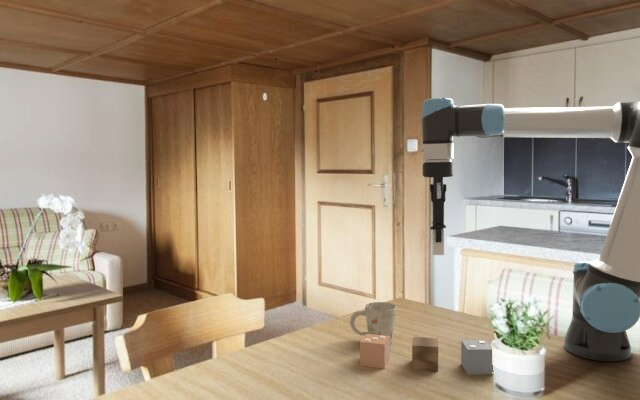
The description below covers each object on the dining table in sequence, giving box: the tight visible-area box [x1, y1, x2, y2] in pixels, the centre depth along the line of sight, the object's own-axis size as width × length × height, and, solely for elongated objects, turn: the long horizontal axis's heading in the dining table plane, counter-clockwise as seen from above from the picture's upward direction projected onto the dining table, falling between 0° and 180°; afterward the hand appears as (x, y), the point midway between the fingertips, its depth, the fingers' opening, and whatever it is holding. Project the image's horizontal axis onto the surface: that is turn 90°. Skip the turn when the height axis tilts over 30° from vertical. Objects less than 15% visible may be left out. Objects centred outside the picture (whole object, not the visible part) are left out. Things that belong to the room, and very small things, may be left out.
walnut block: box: [411, 336, 439, 373], centre depth 128 cm, size 6×6×6 cm
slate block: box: [460, 339, 494, 375], centre depth 125 cm, size 6×6×6 cm
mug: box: [349, 301, 397, 345], centre depth 144 cm, size 8×13×10 cm, turn 78°
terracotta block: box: [359, 334, 391, 369], centre depth 130 cm, size 6×6×6 cm
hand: (438, 254), depth 135 cm, fingers closed
